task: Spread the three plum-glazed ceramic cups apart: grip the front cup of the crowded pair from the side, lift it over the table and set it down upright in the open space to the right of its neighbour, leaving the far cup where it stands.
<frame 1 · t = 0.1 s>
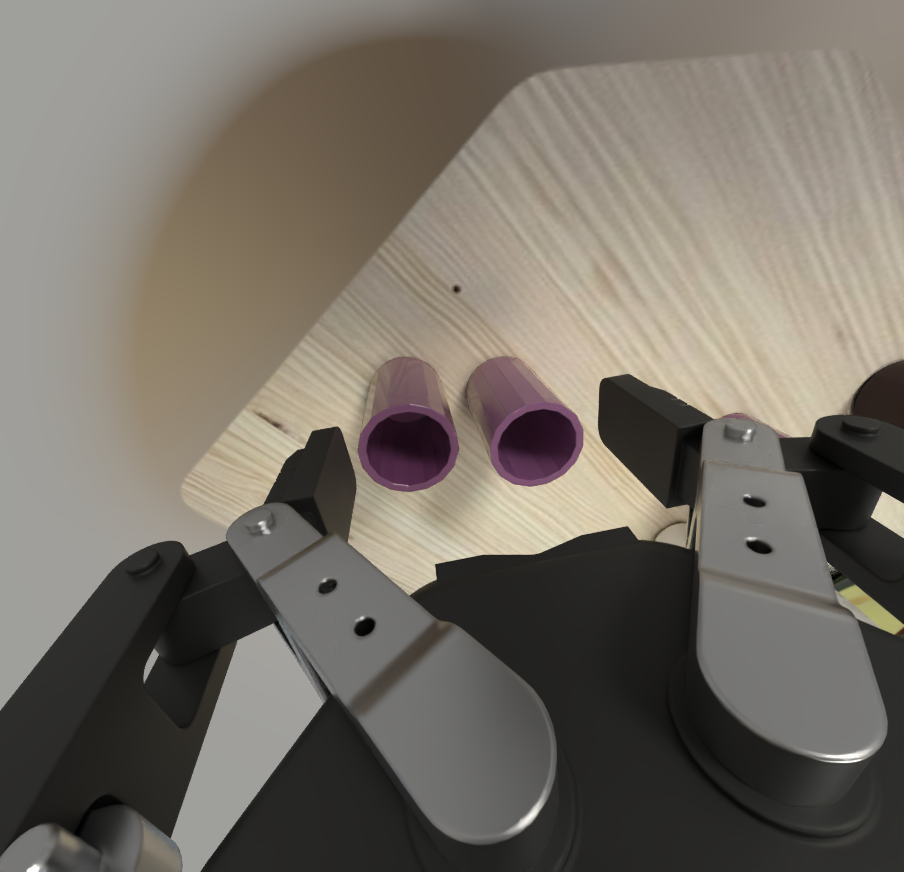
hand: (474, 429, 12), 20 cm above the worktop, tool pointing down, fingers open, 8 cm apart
pair cup: (500, 390, 33), on the worktop
milk bottle: (745, 559, 48), on the worktop
wine bottle: (883, 392, 39), on the worktop
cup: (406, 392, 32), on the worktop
plate: (841, 615, 56), on the worktop
drinking glass: (672, 537, 44), on the worktop
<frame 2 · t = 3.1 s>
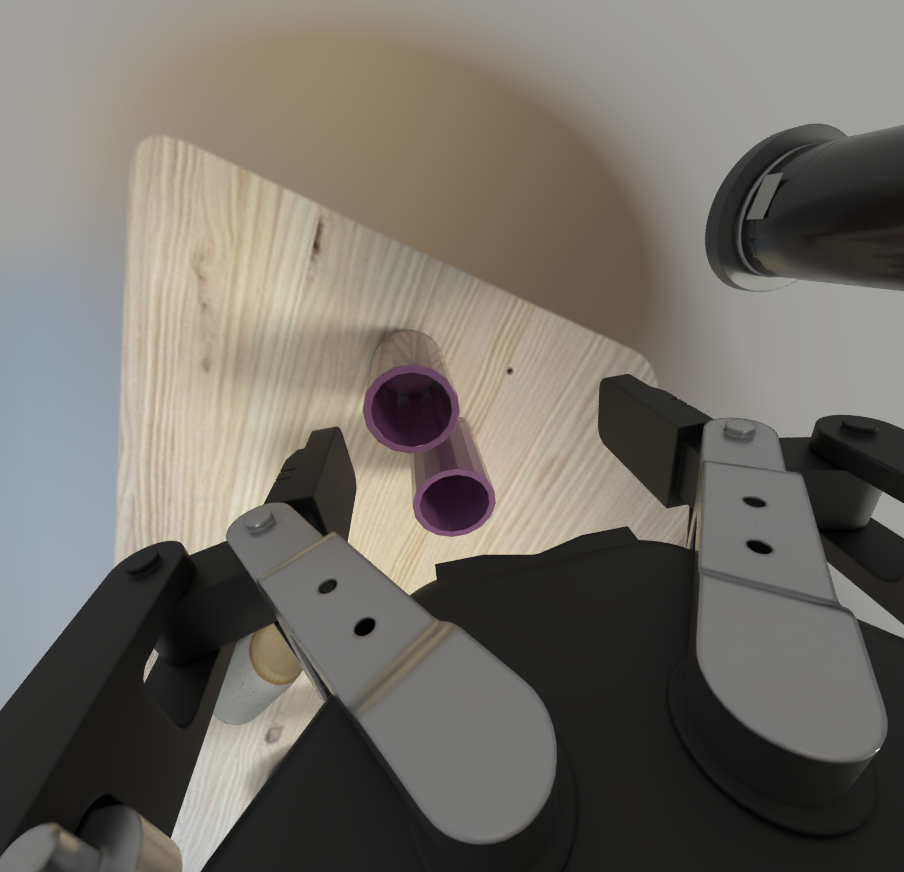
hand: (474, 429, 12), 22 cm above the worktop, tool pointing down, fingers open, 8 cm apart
ceramic mug: (258, 633, 46), on the worktop
pair cup: (441, 440, 37), on the worktop
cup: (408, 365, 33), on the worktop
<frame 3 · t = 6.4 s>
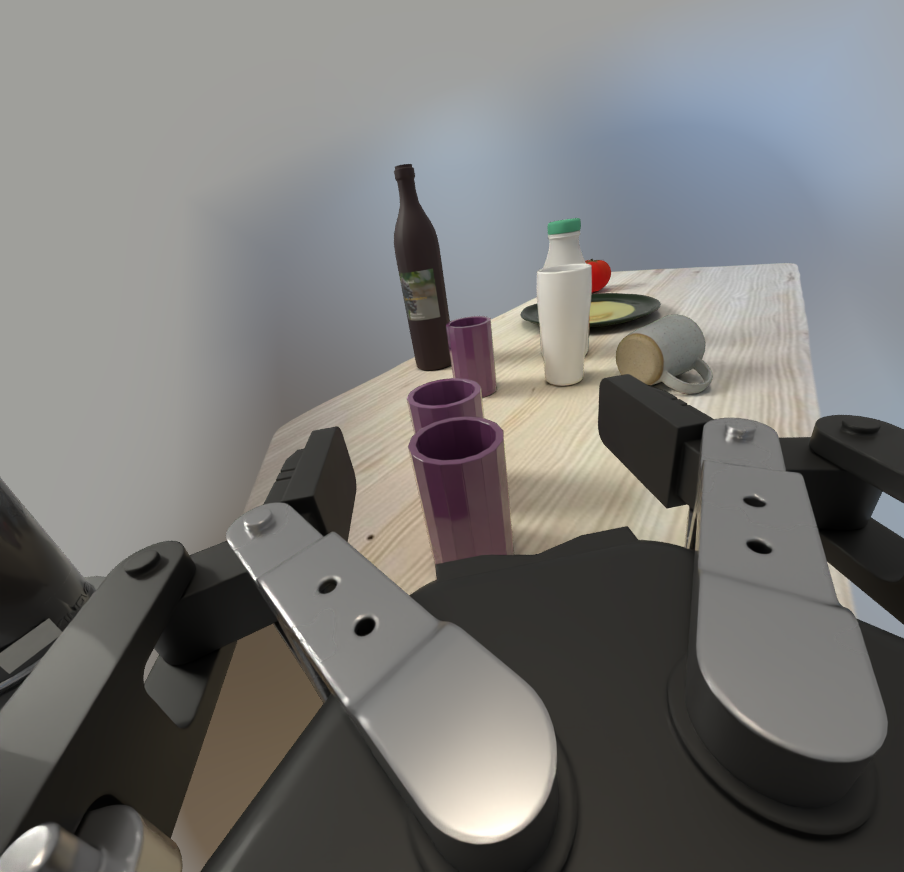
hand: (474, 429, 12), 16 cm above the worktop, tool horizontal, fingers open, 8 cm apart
ceramic mug: (664, 382, 51), on the worktop
pair cup: (459, 490, 36), on the worktop
milk bottle: (564, 355, 66), on the worktop
wine bottle: (436, 365, 71), on the worktop
tomato: (590, 292, 108), on the worktop
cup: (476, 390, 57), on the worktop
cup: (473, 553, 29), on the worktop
plate: (586, 319, 84), on the worktop
drinking glass: (563, 381, 56), on the worktop
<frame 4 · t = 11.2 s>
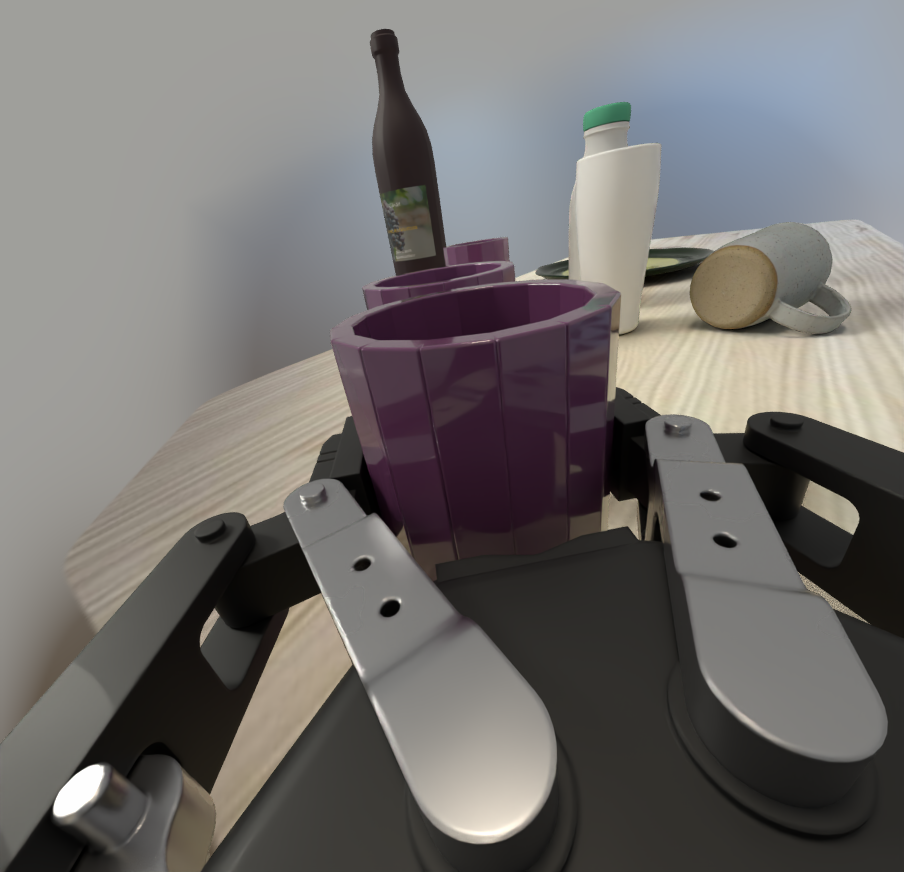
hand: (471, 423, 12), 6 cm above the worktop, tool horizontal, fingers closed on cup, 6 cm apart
ceramic mug: (762, 325, 35), on the worktop
pair cup: (468, 479, 20), on the worktop
milk bottle: (600, 307, 50), on the worktop
wine bottle: (431, 326, 55), on the worktop
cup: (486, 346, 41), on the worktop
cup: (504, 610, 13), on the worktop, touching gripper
plate: (617, 276, 68), on the worktop
drinking glass: (609, 332, 40), on the worktop
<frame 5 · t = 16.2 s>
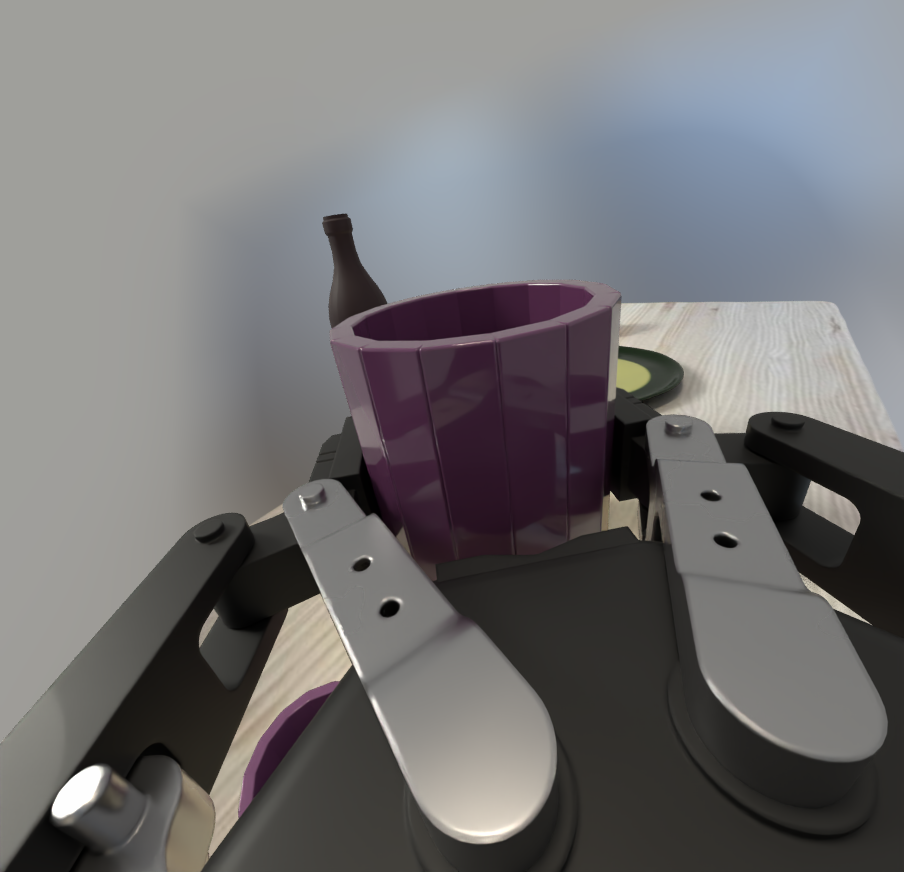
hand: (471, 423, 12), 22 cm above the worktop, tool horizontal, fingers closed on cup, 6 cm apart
pair cup: (379, 853, 20), on the worktop
wine bottle: (397, 462, 54), on the worktop
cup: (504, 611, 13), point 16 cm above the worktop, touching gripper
plate: (589, 383, 68), on the worktop
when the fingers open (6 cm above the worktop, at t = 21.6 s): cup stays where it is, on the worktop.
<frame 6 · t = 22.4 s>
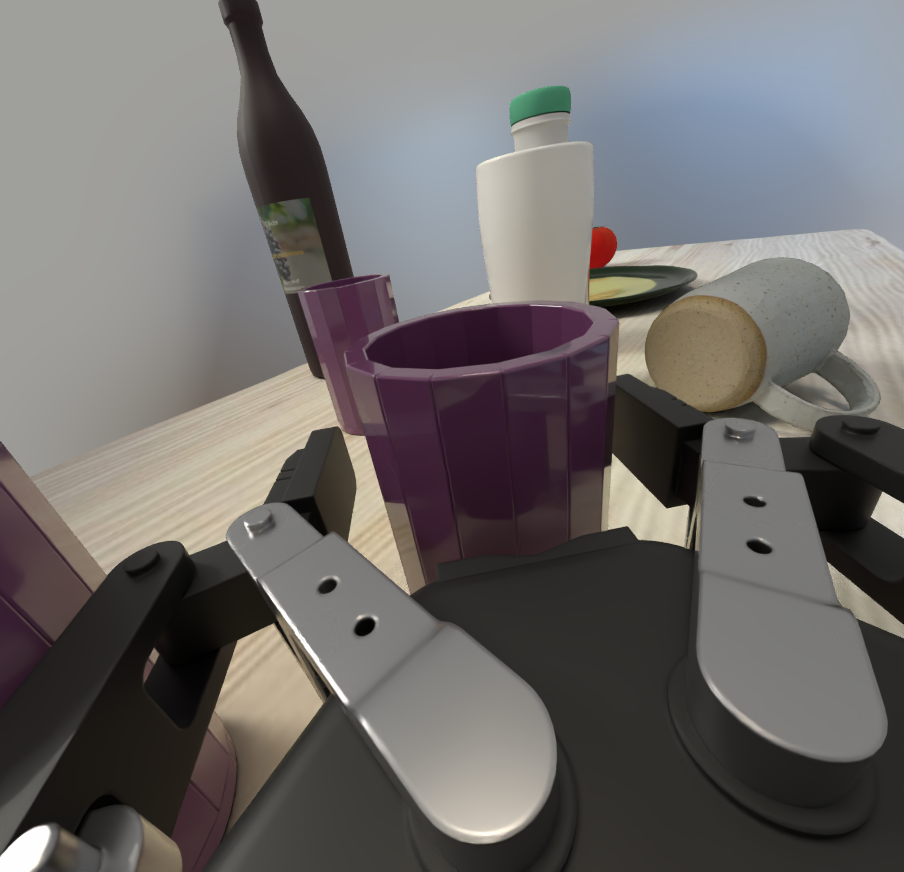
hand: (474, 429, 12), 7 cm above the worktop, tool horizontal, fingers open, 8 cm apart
ceramic mug: (747, 403, 24), on the worktop
pair cup: (108, 845, 10), on the worktop
milk bottle: (547, 351, 39), on the worktop
wine bottle: (344, 369, 44), on the worktop
tomato: (589, 271, 82), on the worktop
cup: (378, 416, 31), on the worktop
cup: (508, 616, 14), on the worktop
plate: (584, 300, 58), on the worktop
drinking glass: (541, 398, 29), on the worktop
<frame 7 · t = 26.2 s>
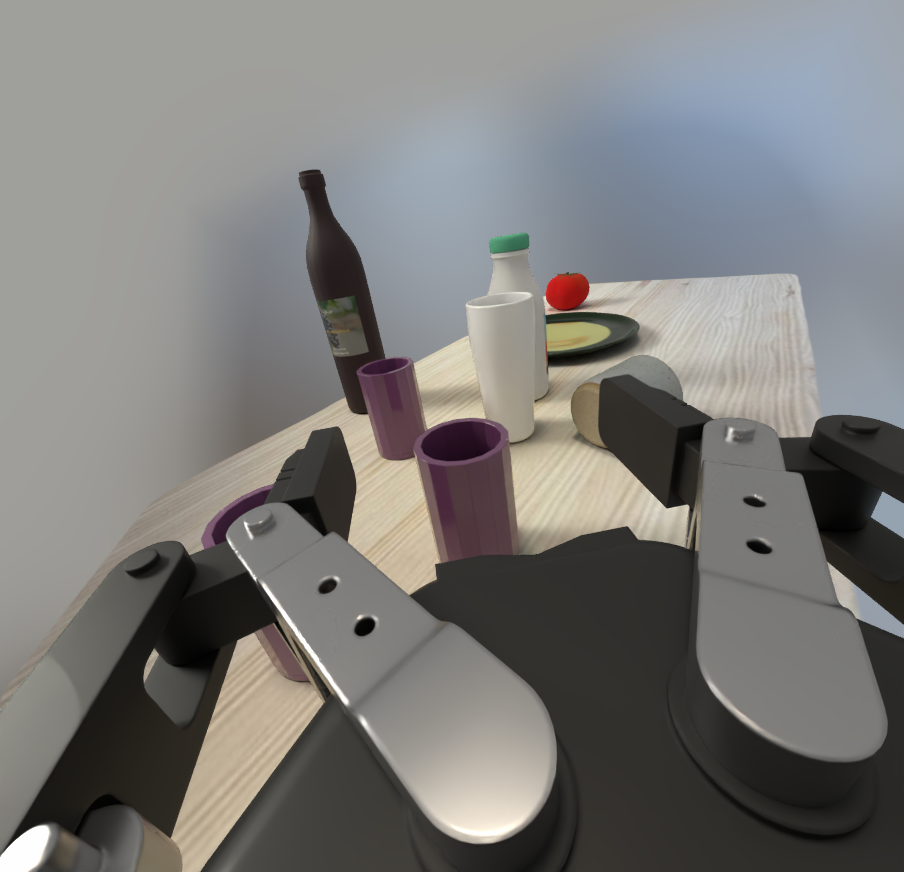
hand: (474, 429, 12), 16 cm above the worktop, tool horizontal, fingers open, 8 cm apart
ceramic mug: (633, 441, 40), on the worktop
pair cup: (321, 634, 25), on the worktop
milk bottle: (520, 394, 55), on the worktop
wine bottle: (373, 405, 60), on the worktop
tomato: (567, 309, 97), on the worktop
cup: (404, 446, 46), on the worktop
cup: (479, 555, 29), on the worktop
plate: (556, 343, 73), on the worktop
drinking glass: (511, 434, 45), on the worktop
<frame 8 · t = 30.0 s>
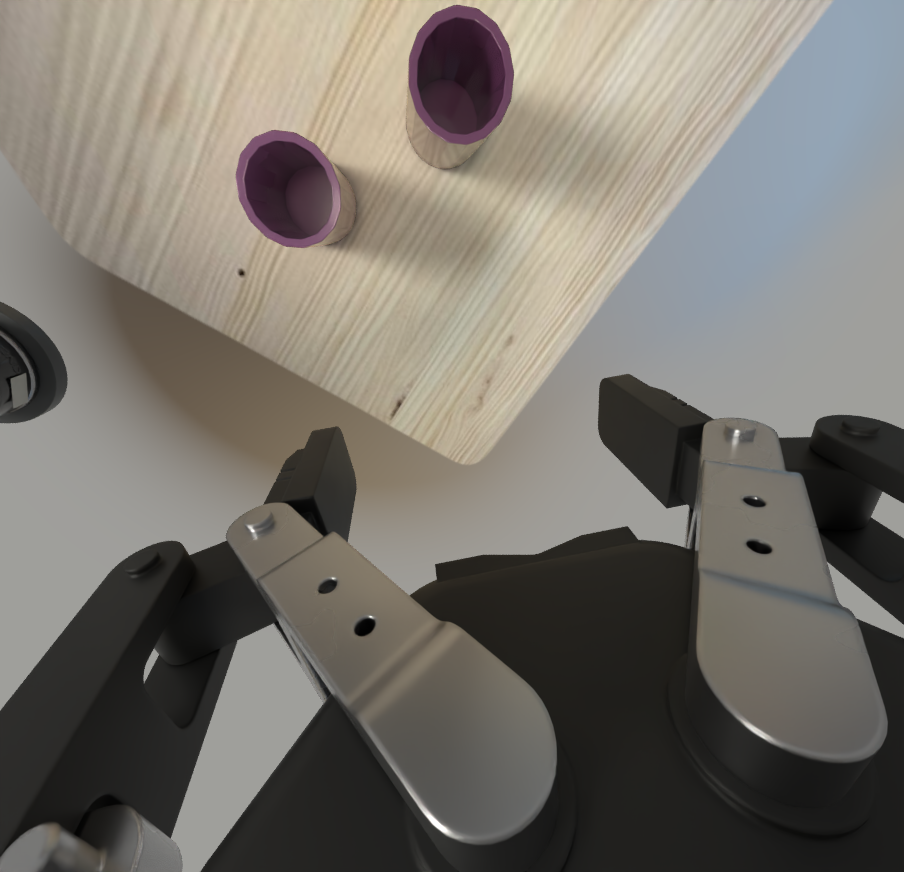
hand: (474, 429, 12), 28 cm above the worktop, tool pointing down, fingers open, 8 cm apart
pair cup: (319, 204, 32), on the worktop
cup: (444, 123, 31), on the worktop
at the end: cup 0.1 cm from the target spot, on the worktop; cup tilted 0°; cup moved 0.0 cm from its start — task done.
